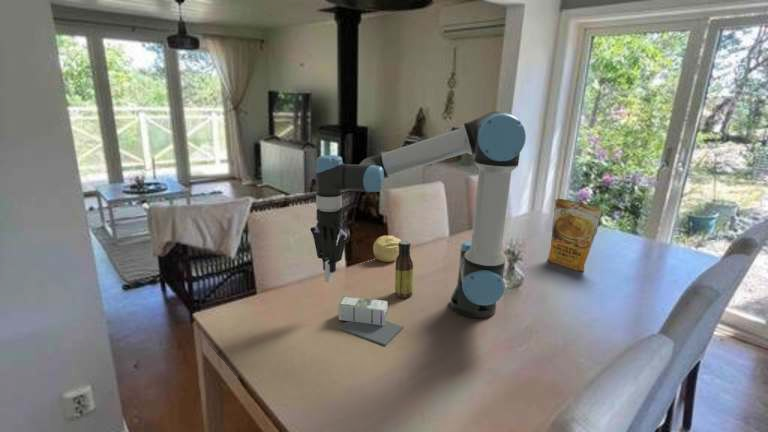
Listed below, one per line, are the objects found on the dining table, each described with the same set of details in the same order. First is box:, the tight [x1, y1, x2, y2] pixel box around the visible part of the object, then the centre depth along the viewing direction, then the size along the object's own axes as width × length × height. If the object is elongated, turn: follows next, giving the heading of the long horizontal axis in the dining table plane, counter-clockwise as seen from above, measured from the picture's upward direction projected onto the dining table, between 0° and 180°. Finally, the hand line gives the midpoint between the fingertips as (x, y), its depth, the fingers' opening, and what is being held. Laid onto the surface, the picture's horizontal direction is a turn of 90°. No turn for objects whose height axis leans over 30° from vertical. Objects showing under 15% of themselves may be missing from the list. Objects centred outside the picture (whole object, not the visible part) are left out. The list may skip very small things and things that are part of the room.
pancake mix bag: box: [547, 198, 603, 272], centre depth 173 cm, size 7×19×28 cm, turn 40°
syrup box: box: [338, 295, 389, 326], centre depth 127 cm, size 6×6×14 cm
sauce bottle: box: [394, 240, 414, 299], centre depth 142 cm, size 6×6×20 cm
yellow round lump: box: [372, 235, 402, 263], centre depth 174 cm, size 12×12×11 cm
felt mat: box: [338, 320, 404, 347], centre depth 123 cm, size 16×11×1 cm
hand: (329, 280), depth 127 cm, fingers closed
